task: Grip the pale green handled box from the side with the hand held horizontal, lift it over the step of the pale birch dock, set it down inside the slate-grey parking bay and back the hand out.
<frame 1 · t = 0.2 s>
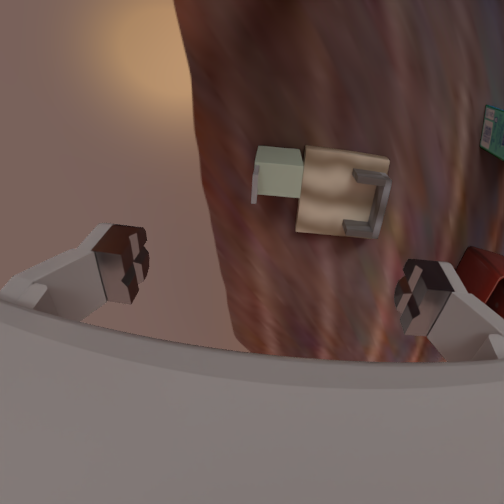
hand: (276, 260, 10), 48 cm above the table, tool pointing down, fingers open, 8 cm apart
milk carton: (498, 130, 47), on the table
dock: (339, 191, 58), on the table
pale green handled box: (277, 158, 56), on the table
plant pot: (474, 270, 65), on the table
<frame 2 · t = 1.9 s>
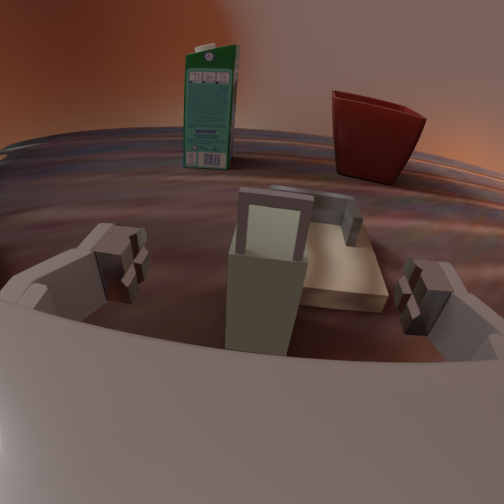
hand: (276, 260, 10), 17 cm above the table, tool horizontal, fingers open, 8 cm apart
milk carton: (209, 162, 66), on the table
dock: (307, 263, 39), on the table
pale green handled box: (257, 333, 29), on the table
plant pot: (362, 171, 71), on the table
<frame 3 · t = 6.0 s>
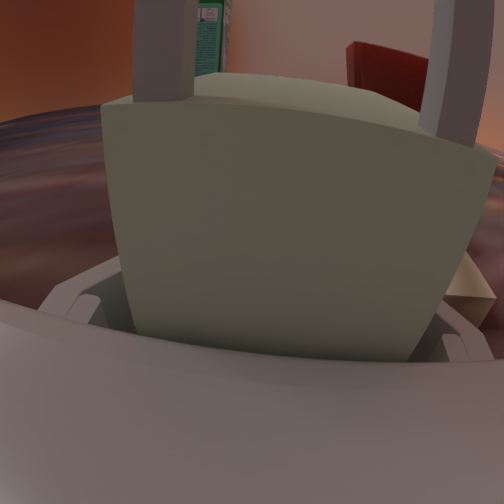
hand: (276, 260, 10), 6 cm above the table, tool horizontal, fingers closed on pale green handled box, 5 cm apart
milk carton: (193, 126, 49), on the table
dock: (343, 245, 22), on the table
pale green handled box: (257, 392, 12), on the table, touching gripper
plant pot: (387, 142, 54), on the table
when the fingers open (10 cm above the table, at t = 10.2 s): pale green handled box drops 1 cm, resting on dock.
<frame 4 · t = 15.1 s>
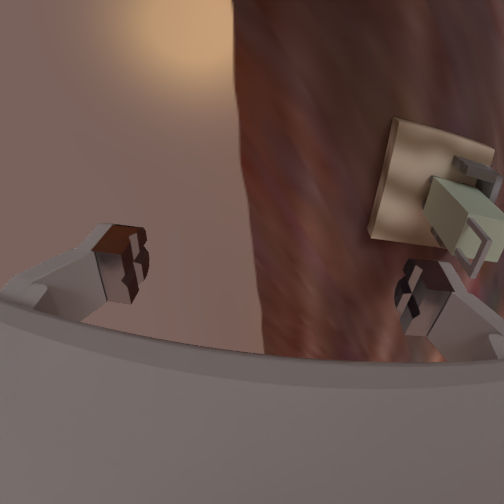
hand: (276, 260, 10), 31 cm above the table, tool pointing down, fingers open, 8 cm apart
dock: (429, 185, 38), on the table
pale green handled box: (445, 194, 36), point 2 cm above the table, touching dock
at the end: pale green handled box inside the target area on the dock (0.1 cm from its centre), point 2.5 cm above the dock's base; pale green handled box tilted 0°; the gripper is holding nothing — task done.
